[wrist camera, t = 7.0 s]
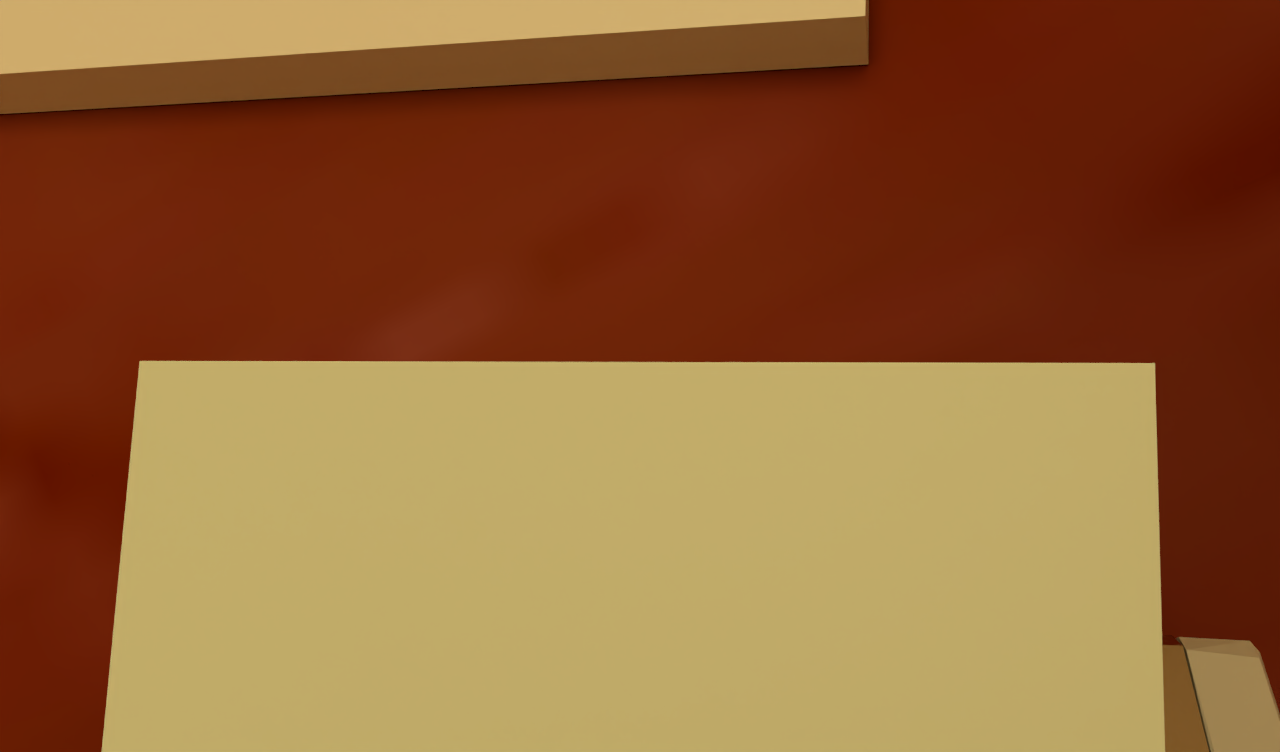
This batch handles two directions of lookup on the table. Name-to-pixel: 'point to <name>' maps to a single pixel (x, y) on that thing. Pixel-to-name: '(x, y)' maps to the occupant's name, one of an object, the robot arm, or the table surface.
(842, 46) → the pin plate
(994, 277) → the table surface
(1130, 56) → the table surface
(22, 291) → the table surface
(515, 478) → the beige rectangular block
